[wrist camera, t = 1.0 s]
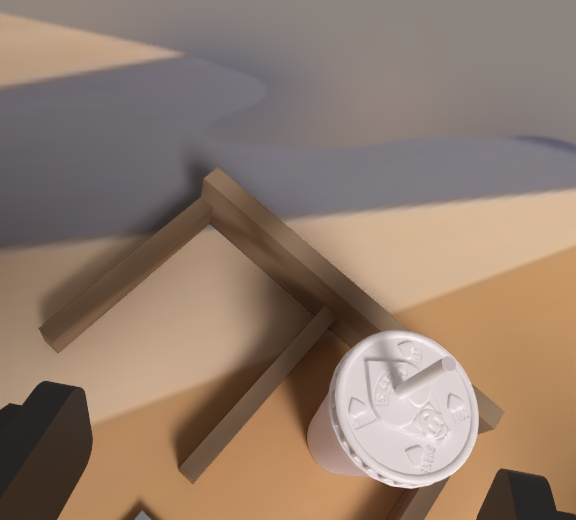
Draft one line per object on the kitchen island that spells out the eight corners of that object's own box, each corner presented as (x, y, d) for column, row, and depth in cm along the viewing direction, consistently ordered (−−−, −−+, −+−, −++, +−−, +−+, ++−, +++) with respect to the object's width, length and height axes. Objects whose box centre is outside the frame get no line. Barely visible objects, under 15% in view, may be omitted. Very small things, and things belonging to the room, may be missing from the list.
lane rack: (45, 340, 30) (31, 314, 26) (211, 202, 36) (217, 166, 32) (341, 628, 27) (369, 641, 24) (467, 425, 33) (504, 411, 30)
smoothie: (332, 360, 33) (440, 256, 21) (413, 439, 32) (576, 378, 20) (259, 439, 30) (334, 372, 18) (345, 528, 29) (487, 522, 17)
